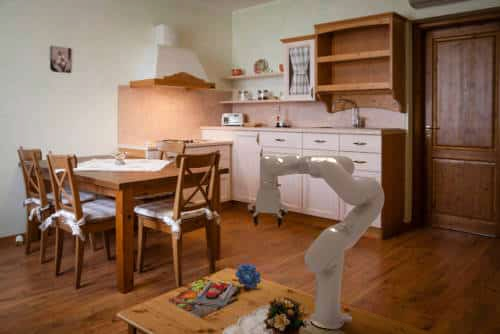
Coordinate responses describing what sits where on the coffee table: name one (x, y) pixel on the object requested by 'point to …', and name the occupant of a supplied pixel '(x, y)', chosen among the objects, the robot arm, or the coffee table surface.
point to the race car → (216, 290)
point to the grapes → (248, 275)
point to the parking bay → (218, 301)
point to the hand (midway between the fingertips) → (267, 226)
